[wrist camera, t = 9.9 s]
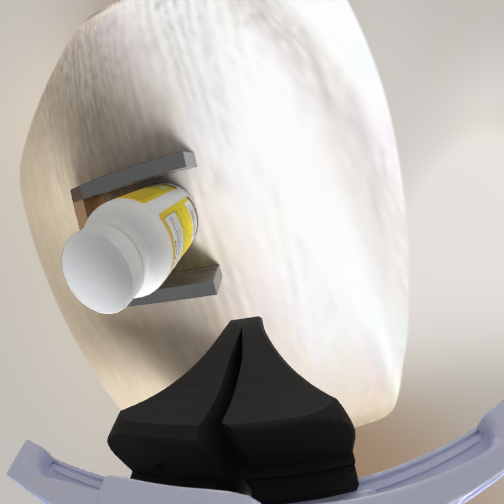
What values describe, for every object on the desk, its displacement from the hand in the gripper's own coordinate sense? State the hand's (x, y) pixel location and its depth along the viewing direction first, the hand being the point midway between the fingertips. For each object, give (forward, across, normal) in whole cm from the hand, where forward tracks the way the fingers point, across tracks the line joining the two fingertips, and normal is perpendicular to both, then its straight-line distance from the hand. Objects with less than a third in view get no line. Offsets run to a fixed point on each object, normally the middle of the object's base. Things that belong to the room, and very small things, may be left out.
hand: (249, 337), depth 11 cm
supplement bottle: (+10, +6, -4) cm, 12 cm away
